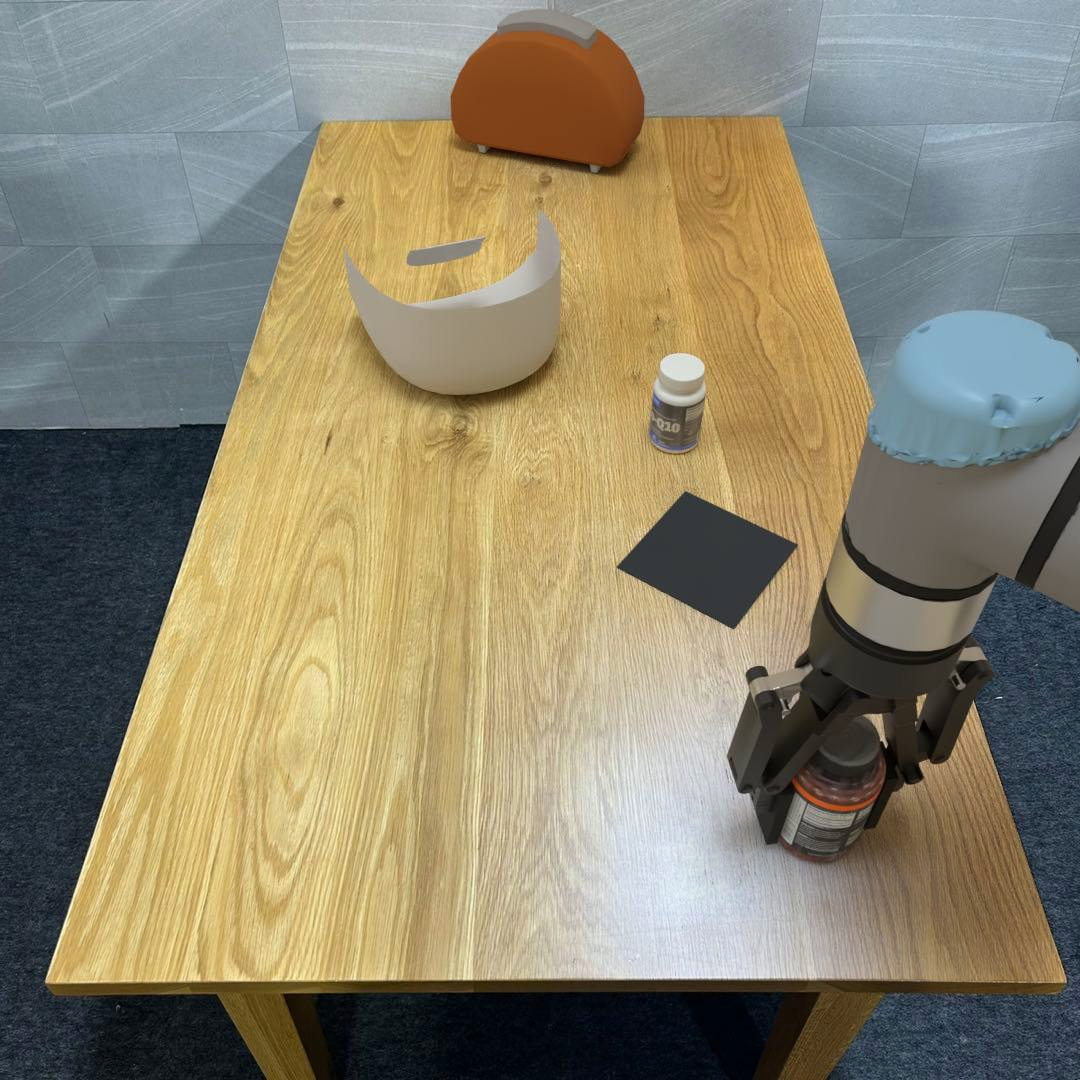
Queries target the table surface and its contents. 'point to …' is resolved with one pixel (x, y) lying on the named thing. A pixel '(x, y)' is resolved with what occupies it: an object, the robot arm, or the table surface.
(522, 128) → the orange toaster
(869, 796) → the supplement bottle
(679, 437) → the pill bottle
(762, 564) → the mat
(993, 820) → the table surface
